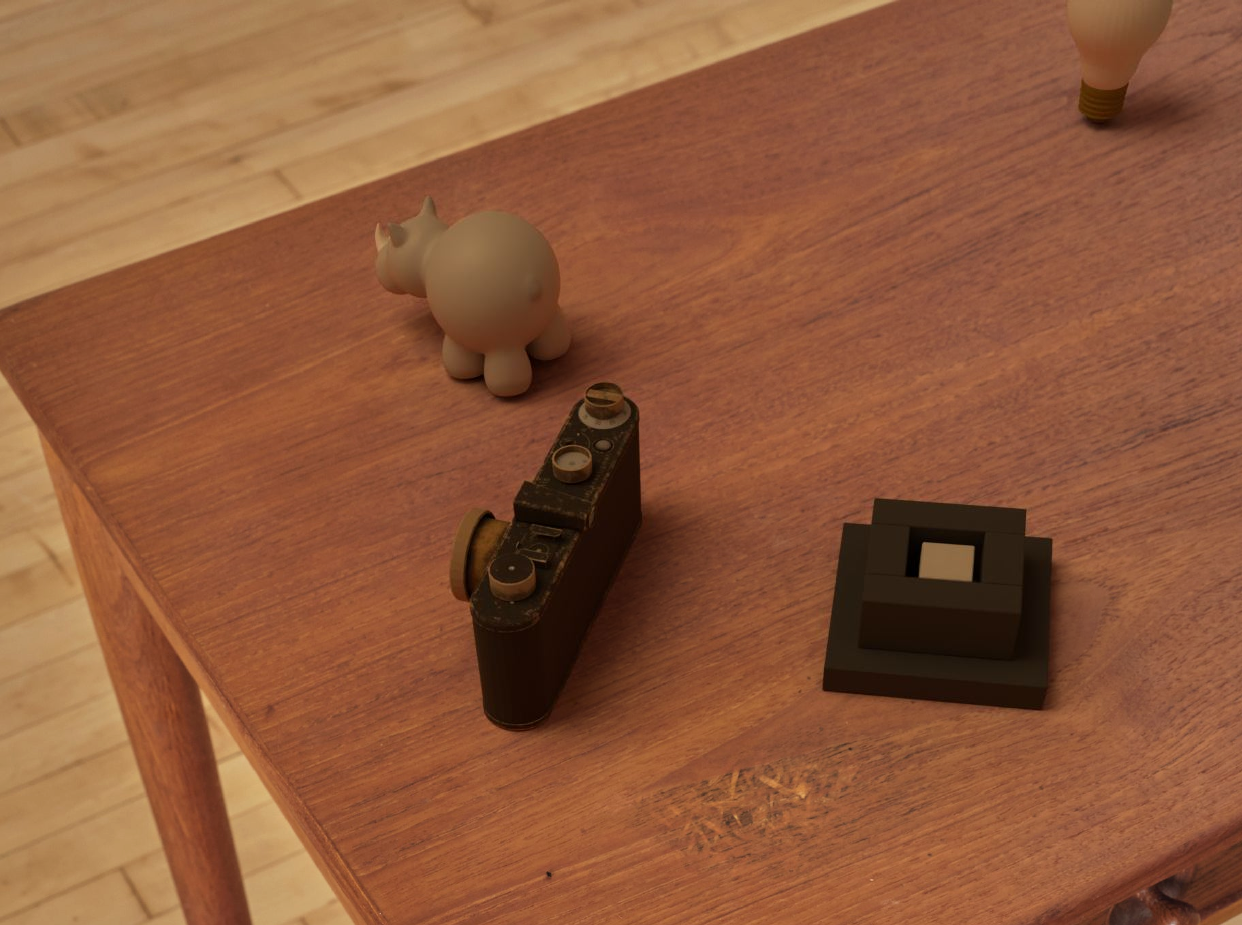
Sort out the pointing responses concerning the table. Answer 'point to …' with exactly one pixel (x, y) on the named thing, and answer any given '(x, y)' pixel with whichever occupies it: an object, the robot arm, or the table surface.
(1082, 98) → the light bulb
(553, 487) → the camera
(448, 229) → the chubby cartoon animal
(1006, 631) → the black square ring block
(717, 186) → the table surface
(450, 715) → the table surface
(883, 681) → the base pad
